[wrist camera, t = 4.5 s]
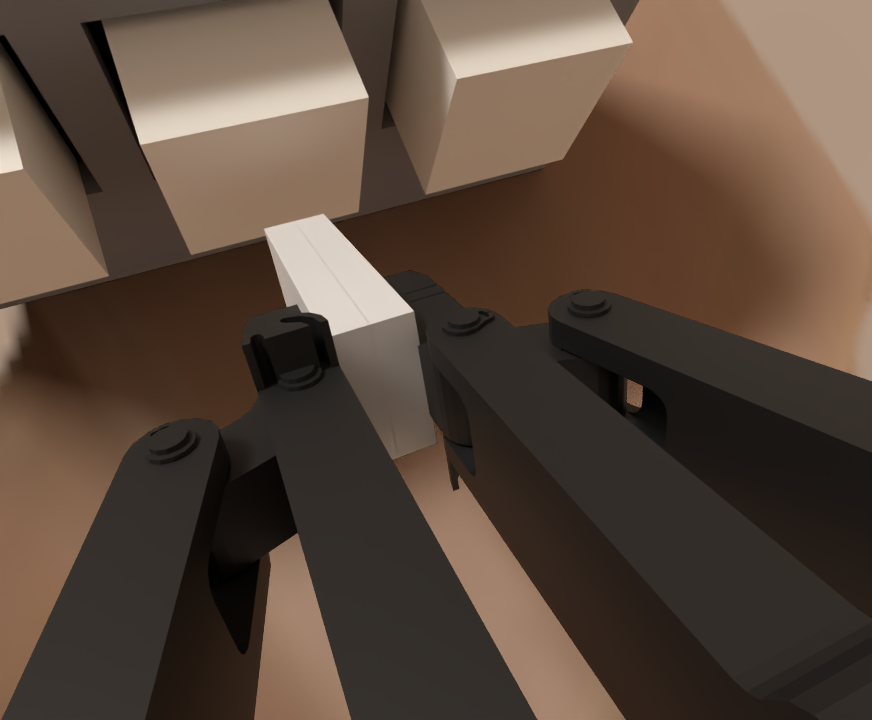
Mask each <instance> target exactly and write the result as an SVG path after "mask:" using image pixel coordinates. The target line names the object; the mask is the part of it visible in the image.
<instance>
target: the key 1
mask: <svg viewBox="0 0 872 720" xmlns="http://www.w3.org/2000/svg"><path fill="white" fill-rule="evenodd" d="M107 276H109V274H108V271H107V267H106V263H105V260H104V256H103V253H102V249H101V246H100V242H99V239H98V235H97V232H96V228H95V225H94V221H93V217H92V214H91V210H90V207H89V203H88V200H87V196H86V193H85V189H84V186H83V182H82V179H81V175H80V171H79V168H78V164H77V161H76V158H75V157H74V155H73V154H72V152H71V151H70V149H69V147H68V146H67V144H66V143H65V141H64V140H63V138H62V137H61V135H60V134H59V132H58V130H57V129H56V127H55V126H54V124H53V123H52V121H51V120H50V118H49V116H48V115H47V113H46V112H45V110H44V109H43V107H42V106H41V104H40V103H39V101H38V99H37V98H36V96H35V95H34V93H33V92H32V90H31V89H30V87H29V85H28V84H27V82H26V81H25V79H24V78H23V76H22V75H21V73H20V72H19V70H18V68H17V67H16V65H15V64H14V62H13V61H12V59H11V58H10V56H9V54H8V53H7V51H6V50H5V48H4V47H3V45H2V44H1V42H0V304H3V303H6V302H10V301H14V300H18V299H22V298H26V297H30V296H34V295H38V294H41V293H45V292H49V291H53V290H57V289H61V288H65V287H69V286H73V285H76V284H80V283H84V282H88V281H92V280H96V279H100V278H104V277H107Z"/></svg>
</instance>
